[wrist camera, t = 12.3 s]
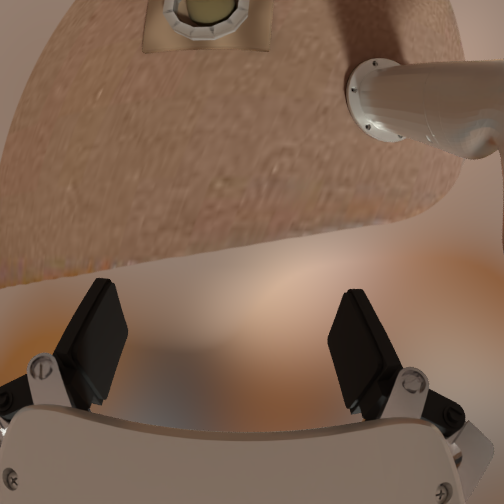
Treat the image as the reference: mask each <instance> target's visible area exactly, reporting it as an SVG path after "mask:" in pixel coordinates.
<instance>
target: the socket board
mask: <svg viewBox="0 0 504 504" xmlns="http://www.w3.org/2000/svg"><path fill="white" fill-rule="evenodd" d="M235 3H236V11H235V12H234V13H233V14H232V15H231V16H230V18H229V19H228V20H226V21H223V22H221V23H219V24H216V25H214V26H212V27H202V26H198V25H197V24H195V23H193V22H192V20H191V19H190V18H189V15H188V10H187V4H186V0H149V2H148V8H147V14H146V21H145V29H144V37H143V46H142V52H143V53H145V54H146V53H155V52H165V51H177V50H198V49H230V50H250V51H263V52H269V50H270V39H271V27H272V16H273V4H274V0H235Z"/></svg>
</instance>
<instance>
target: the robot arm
mask: <svg viewBox="0 0 504 504" xmlns="http://www.w3.org/2000/svg"><path fill="white" fill-rule="evenodd" d="M372 63H373V64H374V66H373V64H372ZM351 89H353V92H352V91H351ZM346 99H347V104H348V108H349V111H350V113H351V116H352V117H353V119H354V121H355V122H356V124H357V125H358V126H359V127H360V128H361V129H362V130H363V131H364V132H365V133H366V134H368V135H369V136H371V137H373V138H375V139H378V140H381V141H385V142H397V141H401V140H403V139H405V138H410V139H413V140H416V141H419V142H422V143H424V144H427V145H430V146H433V147H435V148H438V149H441V150H443V151H446V152H448V153H451V154H454V155H456V156H459V157H462V158H465V159H471V160H472V159H473V160H475V159H481V158H485V157H487V156H489V155H491V154H492V153H494V152H495V151H497V150H499V153H500V157H501V165H502V176H503V226H502V245H503V253H504V59H494V60H483V61H451V62H430V63H417V64H407V65H401V64H399V63H397V62H395V61H393V60H390V59H386V58H375V59H370V60H367V61H364V62H363V63H361V64H359V65H358V66H357V67H356V68H355V69H354V70H353V72H352V73H351V75H350V77H349V80H348V83H347V89H346ZM366 125H367V128H366V127H365V126H366ZM127 336H128V328H127V325H126V321H125V319H124V315H123V312H122V309H121V305H120V301H119V298H118V294H117V291H116V287H115V284H114V283H112V282H111V280H110V279H104V278H96V280H95V281H94V282H93V284H92V286H91V287H90V289H89V290H88V292H87V294H86V296H85V297H84V299H83V300H82V302H81V304H80V305H79V307H78V309H77V310H76V312H75V314H74V315H73V317H72V319H71V321H70V322H69V324H68V326H67V328H66V330H65V332H64V334H63V335H62V337H61V339H60V341H59V343H58V345H57V347H56V349H55V351H54V353H53V355H51V354H49V353H41V354H38V355H36V356H34V357H33V358H32V359H31V360H30V362H29V364H28V366H27V374H25V375H23V376H21V377H19V378H17V379H15V380H13V381H11V382H9V383H7V384H5V385H3V386H1V387H0V504H465V503H466V501H467V500H468V498H469V497H470V495H471V494H472V492H473V491H474V489H475V488H476V486H477V484H478V483H479V481H480V479H481V478H482V476H483V474H484V472H485V471H486V469H487V467H488V465H489V463H490V461H491V459H492V458H493V454H494V447H493V444H492V443H491V441H490V440H489V439H488V438H487V437H486V436H485V435H484V434H483V433H482V432H481V431H480V430H479V429H478V428H476V427H475V426H474V425H473V424H472V423H471V422H470V421H467V422H466V421H465V413H464V410H463V409H462V407H461V406H460V405H459V404H457V403H456V402H454V401H452V400H450V399H448V398H446V397H444V396H442V395H440V394H438V393H436V392H434V391H433V390H430V389H429V381H428V378H427V377H426V375H425V374H424V373H423V372H422V371H420V370H419V369H417V368H414V367H406V368H404V369H403V367H402V365H401V363H400V361H399V358H398V356H397V354H396V352H395V350H394V348H393V346H392V344H391V342H390V340H389V338H388V336H387V333H386V332H385V330H384V328H383V326H382V324H381V322H380V321H379V319H378V317H377V315H376V313H375V311H374V309H373V307H372V305H371V304H370V302H369V300H368V298H367V296H366V294H365V293H364V291H363V290H362V289H349V290H348V291H347V293H344V294H343V297H342V300H341V303H340V305H339V308H338V311H337V314H336V317H335V319H334V322H333V325H332V327H331V330H330V333H329V335H328V346H329V350H330V353H331V356H332V360H333V363H334V366H335V370H336V374H337V377H338V381H339V384H340V388H341V391H342V395H343V398H344V402H345V405H346V408H348V409H349V408H350V412H351V414H357V413H362V417H363V420H362V422H359V423H352V424H346V425H340V426H332V427H324V428H316V429H306V430H295V431H280V432H215V431H200V430H188V429H179V428H170V427H163V426H156V425H149V424H143V423H138V422H132V421H128V420H122V419H118V418H113V417H109V416H104V415H100V414H96V413H92V412H91V410H90V406H91V403H93V404H98V405H102V402H103V400H105V399H107V397H108V393H109V390H110V386H111V383H112V380H113V377H114V374H115V371H116V368H117V365H118V362H119V359H120V356H121V353H122V350H123V347H124V345H125V342H126V339H127Z"/></svg>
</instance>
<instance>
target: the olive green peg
mask: <svg viewBox="0 0 504 504" xmlns="http://www.w3.org/2000/svg"><path fill="white" fill-rule="evenodd" d="M186 4H187V10H188V15H189V18H190V19H191V20H192V22H193V23H195V24H197V25H198V26H202V27H212V26H214V25H216V24H219V23H221V22H223V21H226V20H228V19H229V18H230V16H231V15H232V14H233V13H234V12H235V11H236V3H235V0H186Z"/></svg>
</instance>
